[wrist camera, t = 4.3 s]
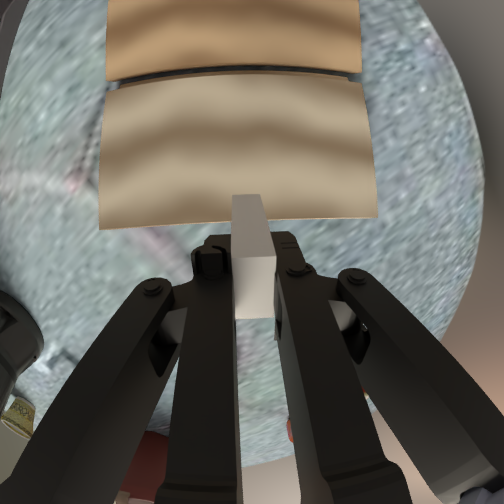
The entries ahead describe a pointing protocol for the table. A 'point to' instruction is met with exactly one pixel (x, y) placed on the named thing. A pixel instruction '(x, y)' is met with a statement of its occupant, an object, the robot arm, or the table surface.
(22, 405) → the ceramic cup
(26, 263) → the table surface
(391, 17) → the table surface
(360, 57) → the oak plank
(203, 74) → the ash plank
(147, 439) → the bucket
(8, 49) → the hand plane
